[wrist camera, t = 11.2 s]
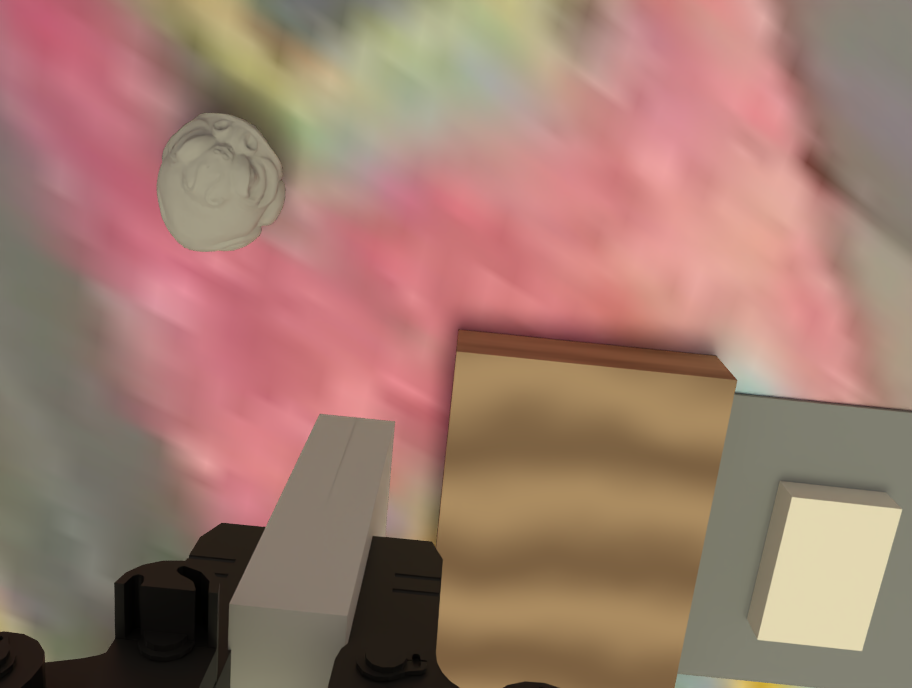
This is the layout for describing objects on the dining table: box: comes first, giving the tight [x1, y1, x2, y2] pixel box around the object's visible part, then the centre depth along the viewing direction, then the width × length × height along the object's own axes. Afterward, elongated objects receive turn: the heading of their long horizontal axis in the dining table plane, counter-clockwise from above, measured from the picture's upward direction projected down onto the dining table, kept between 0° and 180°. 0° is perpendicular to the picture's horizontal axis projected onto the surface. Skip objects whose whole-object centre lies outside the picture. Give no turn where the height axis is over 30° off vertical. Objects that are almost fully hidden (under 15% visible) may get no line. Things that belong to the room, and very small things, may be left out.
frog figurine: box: [157, 113, 285, 252], centre depth 42 cm, size 6×7×7 cm
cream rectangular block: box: [747, 481, 902, 651], centre depth 49 cm, size 9×6×2 cm, turn 174°
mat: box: [677, 393, 912, 688], centre depth 50 cm, size 18×16×1 cm
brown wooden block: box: [436, 330, 737, 688], centre depth 48 cm, size 22×14×4 cm, turn 174°
